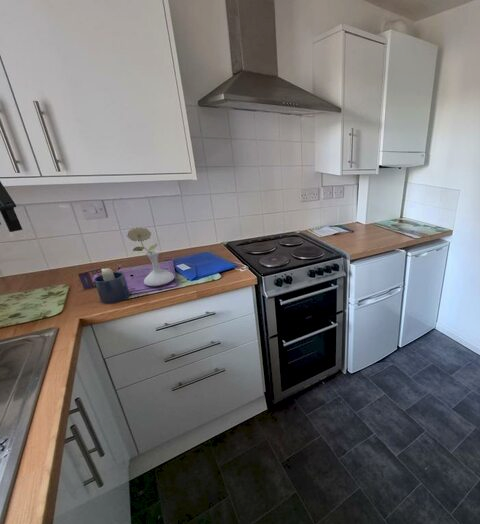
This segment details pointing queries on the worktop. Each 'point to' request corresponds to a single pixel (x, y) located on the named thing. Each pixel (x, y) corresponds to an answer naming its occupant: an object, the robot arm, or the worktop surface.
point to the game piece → (108, 274)
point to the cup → (112, 288)
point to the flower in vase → (157, 274)
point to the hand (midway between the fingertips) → (5, 228)
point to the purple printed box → (89, 278)
